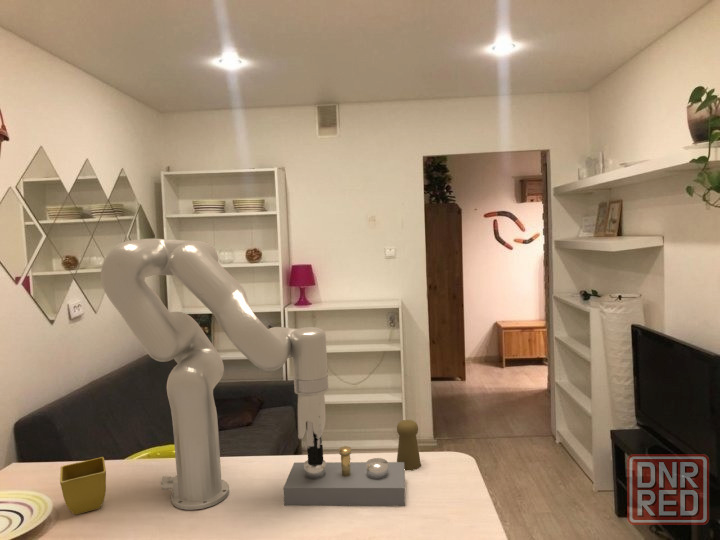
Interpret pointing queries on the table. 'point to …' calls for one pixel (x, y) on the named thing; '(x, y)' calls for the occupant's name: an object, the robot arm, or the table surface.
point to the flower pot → (84, 485)
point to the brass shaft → (345, 460)
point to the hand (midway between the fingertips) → (315, 463)
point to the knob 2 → (377, 468)
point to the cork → (408, 445)
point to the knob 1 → (314, 470)
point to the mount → (345, 487)
